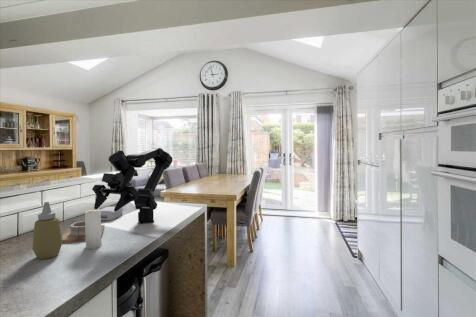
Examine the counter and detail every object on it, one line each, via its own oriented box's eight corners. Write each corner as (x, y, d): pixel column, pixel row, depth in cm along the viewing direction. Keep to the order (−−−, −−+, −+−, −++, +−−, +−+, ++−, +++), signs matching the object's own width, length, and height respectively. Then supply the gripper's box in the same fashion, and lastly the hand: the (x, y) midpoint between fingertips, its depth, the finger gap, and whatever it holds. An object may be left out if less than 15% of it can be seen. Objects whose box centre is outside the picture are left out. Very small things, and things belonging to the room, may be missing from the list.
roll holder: (104, 227, 113) (104, 217, 113) (101, 238, 101) (101, 226, 100) (67, 231, 108) (66, 220, 107) (59, 243, 95) (59, 231, 95)
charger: (128, 212, 140) (112, 220, 125) (112, 212, 141) (95, 219, 126) (128, 204, 140) (112, 211, 125) (112, 203, 140) (95, 210, 126)
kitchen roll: (102, 242, 96) (101, 208, 95) (100, 247, 91) (100, 212, 91) (86, 244, 94) (86, 210, 93) (84, 250, 89) (84, 213, 89)
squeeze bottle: (43, 251, 88) (41, 199, 87) (67, 250, 89) (66, 199, 88) (26, 261, 80) (24, 205, 79) (53, 260, 81) (51, 205, 80)
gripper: (95, 165, 104) (71, 196, 94) (134, 166, 99) (114, 199, 89) (109, 181, 112) (89, 212, 102) (146, 183, 107) (129, 216, 97)
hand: (104, 210), depth 97 cm, fingers open, 9 cm apart
